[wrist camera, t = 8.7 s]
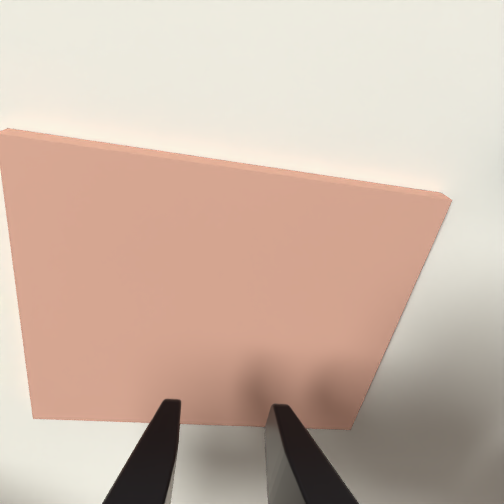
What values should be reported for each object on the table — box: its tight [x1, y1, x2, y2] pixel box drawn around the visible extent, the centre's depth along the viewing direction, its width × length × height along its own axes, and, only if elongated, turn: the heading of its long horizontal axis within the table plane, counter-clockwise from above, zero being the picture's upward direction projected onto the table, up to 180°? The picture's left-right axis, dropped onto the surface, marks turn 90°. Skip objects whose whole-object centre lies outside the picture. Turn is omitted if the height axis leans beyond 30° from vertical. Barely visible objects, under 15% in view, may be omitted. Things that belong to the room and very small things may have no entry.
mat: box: [0, 128, 452, 430], centre depth 13 cm, size 12×10×1 cm
